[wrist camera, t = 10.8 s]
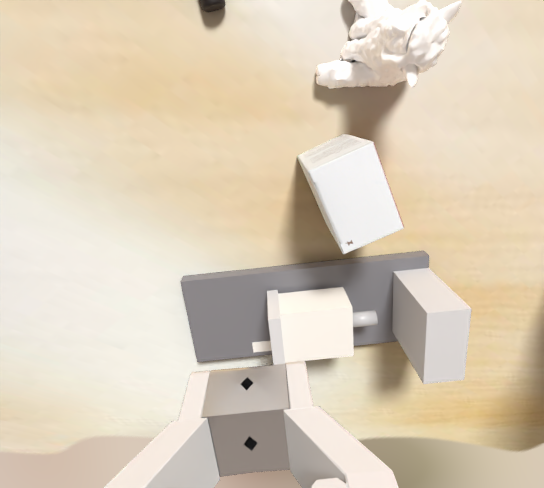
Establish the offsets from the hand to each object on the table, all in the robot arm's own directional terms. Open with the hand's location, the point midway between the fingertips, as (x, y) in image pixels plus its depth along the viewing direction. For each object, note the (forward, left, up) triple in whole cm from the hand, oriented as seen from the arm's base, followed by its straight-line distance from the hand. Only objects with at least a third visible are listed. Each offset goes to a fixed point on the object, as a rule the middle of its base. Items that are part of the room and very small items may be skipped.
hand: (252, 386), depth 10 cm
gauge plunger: (-5, +17, -29) cm, 34 cm away
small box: (-8, +1, -31) cm, 32 cm away
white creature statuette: (-12, -11, -31) cm, 35 cm away
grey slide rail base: (-4, +16, -31) cm, 35 cm away
